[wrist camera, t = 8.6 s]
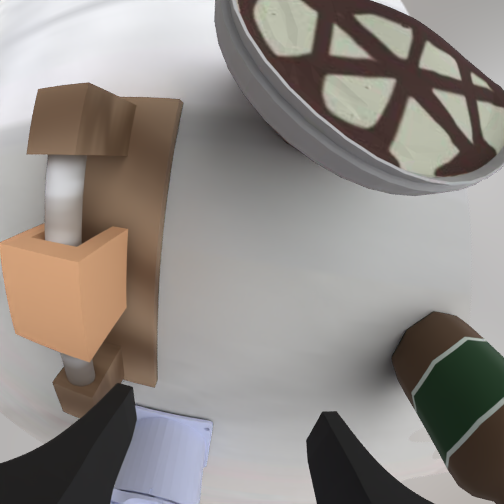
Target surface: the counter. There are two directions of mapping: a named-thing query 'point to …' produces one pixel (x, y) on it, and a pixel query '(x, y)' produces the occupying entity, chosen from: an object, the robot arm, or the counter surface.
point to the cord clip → (65, 289)
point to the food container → (365, 92)
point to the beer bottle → (457, 399)
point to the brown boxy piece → (108, 215)
